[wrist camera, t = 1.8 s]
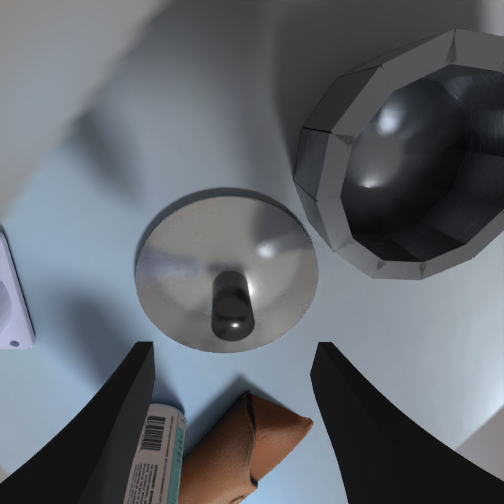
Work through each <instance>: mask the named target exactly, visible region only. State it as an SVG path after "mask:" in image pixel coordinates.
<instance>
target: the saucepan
mask: <svg viewBox="0 0 504 504" xmlns="http://www.w3.org/2000/svg"><path fill="white" fill-rule="evenodd" d="M303 127H304V128H302V130H301V136H300V142H299V149H298V155H297V161H296V167H295V173H294V179H293V180H294V184H295V186H296V189H297V192H298V194H299V197H300V200H301V202H302V205H303V208H304V210H305V213H306V216H307V219H308V221H309V223H310V224H311V225H312V226H313V227H314V229H315V230H316V231H317V232H318V233H319V235H320V236H321V237H322V238H323V240H324V241H325V242H326V243H327V244H328V246H329V247H330V248H331V249H332V250H333V252H334V253H336V254H337V255H339V256H340V257H342V258H343V259H344V260H346V261H347V262H349V263H350V264H352V265H353V266H355V267H356V268H358V269H359V270H360V271H362V272H363V273H365V274H366V275H368V276H369V277H371V278H374V279H404V280H422V279H425V278H427V277H430V276H432V275H434V274H437V273H439V272H442V271H444V270H446V269H449V268H451V267H454V266H456V265H458V264H461V263H463V262H466V261H468V260H470V259H472V257H473V258H474V257H475V256H476V255H477V254H478V253H479V252H480V251H482V250H483V249H484V248H485V247H486V246H487V245H488V244H489V243H490V242H491V241H493V240H494V239H495V238H496V237H497V236H498V235H499V234H500V233H501V232H502V231H503V230H504V37H503V36H497V35H491V34H486V33H480V32H474V31H469V30H463V29H457V28H456V29H452V30H449V31H446V32H443V33H440V34H438V35H435V36H432V37H429V38H426V39H423V40H420V41H418V42H415V43H412V44H409V45H406V46H403V47H400V48H398V49H395V50H392V51H389V52H387V53H385V54H383V55H381V56H379V57H377V58H375V59H373V60H371V61H369V62H367V63H365V64H363V65H361V66H359V67H357V68H355V69H353V70H351V71H349V72H347V73H345V74H343V75H341V76H339V78H337V79H336V80H335V82H334V83H333V85H332V86H331V87H330V89H329V90H328V92H327V93H326V94H325V96H324V97H323V99H322V100H321V101H320V103H319V104H318V106H317V107H316V108H315V110H314V111H313V113H312V114H311V115H310V117H309V118H308V120H307V121H306V122H305V124H304V125H303Z"/></svg>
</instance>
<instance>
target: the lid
mask: <svg viewBox="0 0 504 504" xmlns="http://www.w3.org/2000/svg"><path fill="white" fill-rule="evenodd" d="M135 283H136V290H137V295H138V298H139V301H140V304H141V306H142V308H143V310H144V312H145V313H146V315H147V316H148V318H149V319H150V320H151V322H152V323H153V324H154V325H155V326H156V327H157V328H158V329H159V330H160V331H162V332H163V333H164V334H165V335H167V336H168V337H170V338H171V339H173V340H174V341H176V342H178V343H180V344H182V345H185V346H187V347H190V348H193V349H197V350H201V351H206V352H213V353H235V352H242V351H247V350H251V349H255V348H258V347H261V346H263V345H266V344H268V343H270V342H272V341H274V340H276V339H278V338H279V337H281V336H283V335H284V334H285V333H286V332H288V331H289V330H290V329H291V328H293V327H294V326H295V325H296V324H297V323H298V322H299V320H300V319H301V318H302V317H303V316H304V314H305V313H306V311H307V310H308V308H309V306H310V304H311V302H312V300H313V298H314V295H315V292H316V289H317V283H318V263H317V257H316V254H315V250H314V248H313V246H312V244H311V241H310V239H309V238H308V236H307V235H306V233H305V232H304V230H303V229H302V228H301V227H300V226H299V224H298V223H297V222H296V221H295V220H294V219H293V218H292V217H290V216H289V215H288V214H287V213H285V212H284V211H282V210H281V209H279V208H277V207H276V206H274V205H272V204H269V203H267V202H265V201H262V200H258V199H255V198H251V197H245V196H238V195H222V196H213V197H208V198H204V199H200V200H196V201H194V202H191V203H189V204H186V205H184V206H182V207H181V208H179V209H177V210H175V211H174V212H172V213H171V214H170V215H168V216H167V217H166V218H164V219H163V220H162V221H161V222H160V223H159V224H158V225H157V226H156V227H155V228H154V230H153V231H152V233H151V234H150V235H149V237H148V238H147V240H146V242H145V244H144V246H143V248H142V250H141V252H140V255H139V258H138V261H137V266H136V272H135Z"/></svg>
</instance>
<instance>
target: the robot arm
mask: <svg viewBox="0 0 504 504" xmlns="http://www.w3.org/2000/svg"><path fill="white" fill-rule="evenodd" d="M35 342H36V339H35V336H34V333H33V329H32V326H31V322H30V319H29V316H28V312H27V309H26V306H25V302H24V299H23V296H22V292H21V289H20V286H19V282H18V279H17V275H16V272H15V269H14V265H13V262H12V259H11V255H10V252H9V249H8V245H7V242H6V239H5V236H4V235H3V234H2V233H1V232H0V349H29V348H31V347H32V346H33V345H34V344H35ZM310 377H311V382H312V386H313V390H314V394H315V398H316V401H317V404H318V407H319V410H320V413H321V415H322V418H323V421H324V424H325V427H326V429H327V432H328V435H329V438H330V440H331V443H332V446H333V449H334V452H335V455H336V458H337V461H338V464H339V468H340V472H341V476H342V480H343V483H344V487H345V491H346V495H347V499H348V503H349V504H504V481H502V480H500V479H499V478H497V477H495V476H494V475H492V474H490V473H488V472H486V471H485V470H483V469H482V468H480V467H478V466H477V465H475V464H473V463H472V462H470V461H469V460H467V459H466V458H464V457H463V456H461V455H460V454H458V453H457V452H455V451H453V450H452V449H451V448H449V447H448V446H446V445H445V444H443V443H442V442H440V441H439V440H438V439H436V438H435V437H434V436H432V435H431V434H430V433H428V432H427V431H425V430H424V429H423V428H421V427H420V426H419V425H418V424H416V423H415V422H414V421H412V420H411V419H410V418H409V417H408V416H406V415H405V414H404V413H403V412H402V411H400V410H399V409H398V408H397V407H396V406H394V405H393V404H392V403H391V402H390V401H389V400H388V399H387V398H386V397H385V396H383V395H382V394H381V393H380V392H379V391H378V390H377V389H376V388H375V387H374V386H373V385H372V384H371V383H370V382H369V381H368V380H367V379H366V378H365V377H364V376H363V375H362V374H361V373H360V372H359V371H358V370H357V369H356V368H355V367H354V366H353V365H352V364H351V362H350V361H349V360H348V359H347V358H346V357H345V356H344V355H343V354H342V353H341V352H340V351H339V350H338V348H337V347H336V346H335V345H334V344H333V343H332V342H319V343H318V346H317V350H316V354H315V358H314V361H313V365H312V369H311V372H310ZM154 381H155V364H154V348H153V342H139V341H138V342H137V343H135V345H134V346H133V348H132V349H131V350H130V352H129V353H128V355H127V356H126V357H125V359H124V360H123V362H122V363H121V364H120V365H119V367H118V368H117V369H116V371H115V372H114V373H113V374H112V376H111V377H110V378H109V379H108V381H107V382H106V383H105V384H104V385H103V387H102V388H101V389H100V390H99V391H98V392H97V393H96V395H95V396H94V397H93V398H92V399H91V400H90V401H89V402H88V404H87V405H86V406H85V407H84V408H83V409H82V410H81V411H80V412H79V413H78V414H77V415H76V416H75V417H74V418H73V419H72V420H71V421H70V422H69V423H68V424H67V425H66V426H65V427H64V428H63V429H62V430H61V431H60V432H59V433H58V434H57V435H56V436H55V437H54V438H53V439H52V440H51V441H50V442H48V443H47V444H46V445H45V446H44V447H43V448H42V449H41V450H40V451H39V452H37V453H36V454H35V455H34V456H33V457H32V458H31V459H29V460H28V461H27V462H26V463H25V464H23V465H22V466H21V467H20V468H19V469H17V470H16V471H15V472H14V473H13V474H11V475H10V476H9V477H8V478H6V479H5V480H4V481H3V482H2V483H0V504H123V503H124V499H125V494H126V489H127V484H128V480H129V475H130V471H131V467H132V463H133V460H134V456H135V453H136V450H137V446H138V443H139V440H140V436H141V433H142V429H143V426H144V423H145V419H146V416H147V413H148V409H149V406H150V402H151V397H152V392H153V387H154Z"/></svg>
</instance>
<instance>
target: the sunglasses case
mask: <svg viewBox="0 0 504 504" xmlns="http://www.w3.org/2000/svg"><path fill="white" fill-rule="evenodd" d="M249 392H250V391H247V393H246V394H245V395H244V396H243V397H240V398H239V399H238V400H237V401H236V402H235V403H234V404H233V405H232V407H231V408H230V409H229V410H228V411H227V412H226V413H225V414H224V415H223V417H222V418H221V419H220V420H219V421H218V422H217V423H216V425H215V426H214V427H213V428H212V430H211V431H210V432H208V433H207V435H206V436H205V437H204V438H203V439H202V440H201V442H200V443H199V444H198V445H197V446H196V447H195V448H194V449H193V450H192V451H191V452H190V453H189V454H188V455H187V456H186V457H185V458H184V459H183V460H182V465H181V475H180V485H179V495H178V504H238V503H240V502H241V501H242V500H244V499H245V498H246V497H247V496H248V495H249V494H251V493H252V492H253V491H255V490H256V489H257V486H258V481H259V480H260V479H261V478H263V477H264V476H265V475H266V474H267V473H268V472H270V471H271V470H272V469H273V468H274V467H276V465H277V464H279V463H280V462H281V461H282V460H283V459H284V458H285V457H286V456H287V455H288V454H289V453H290V452H291V451H292V450H293V449H294V448H295V447H296V446H297V445H298V443H299V442H300V441H301V440H302V439H303V438H304V437H305V436H306V434H307V433H308V432H309V430H310V429H311V427H312V426H313V422H312V420H311V419H310V418H306V417H301V416H299V415H298V414H295V413H293V412H291V411H289V410H287V409H285V408H282V407H280V406H278V405H276V404H273V403H271V402H269V401H267V400H265V399H262V398H260V397H258V396H255V395H252V394H249Z"/></svg>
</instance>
